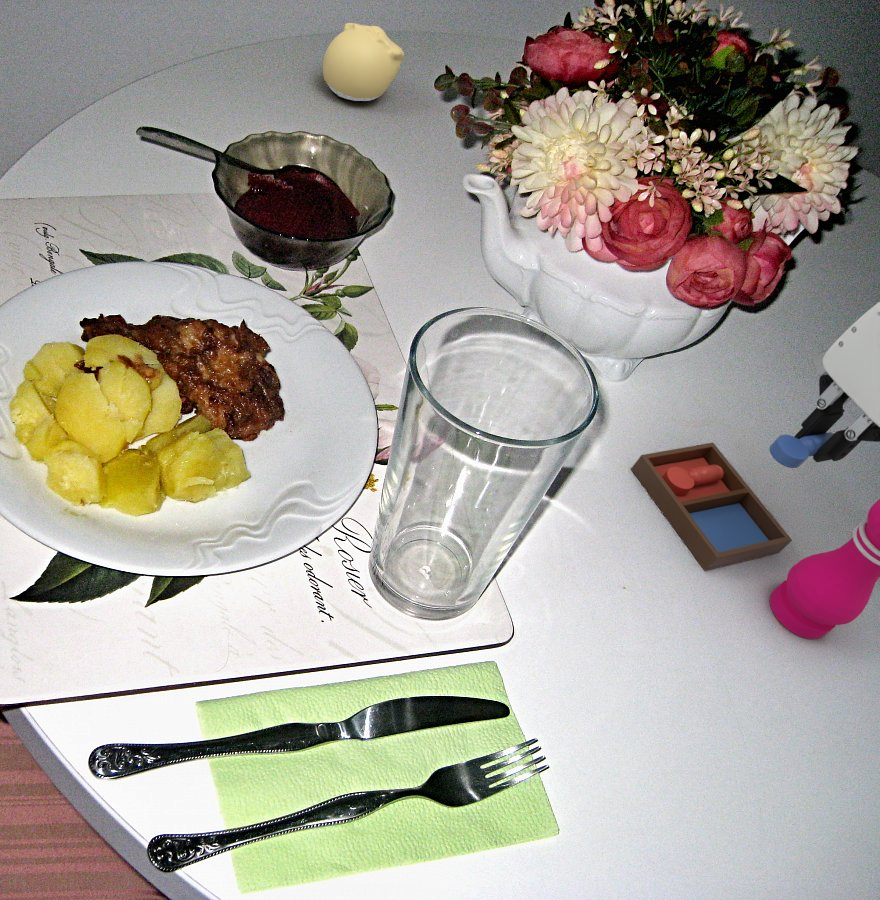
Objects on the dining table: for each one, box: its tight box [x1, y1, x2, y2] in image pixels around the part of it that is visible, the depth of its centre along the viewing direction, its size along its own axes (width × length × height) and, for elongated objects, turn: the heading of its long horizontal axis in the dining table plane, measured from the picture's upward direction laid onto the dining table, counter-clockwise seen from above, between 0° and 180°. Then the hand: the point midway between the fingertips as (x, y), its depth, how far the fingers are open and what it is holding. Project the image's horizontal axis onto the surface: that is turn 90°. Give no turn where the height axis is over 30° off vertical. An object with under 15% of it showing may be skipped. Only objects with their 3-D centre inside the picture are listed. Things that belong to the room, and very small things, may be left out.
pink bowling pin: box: [769, 498, 880, 640], centre depth 86 cm, size 7×7×20 cm
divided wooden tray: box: [630, 442, 793, 572], centre depth 100 cm, size 11×14×2 cm
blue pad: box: [689, 503, 769, 553], centre depth 98 cm, size 9×6×1 cm, turn 109°
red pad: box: [655, 458, 748, 513], centre depth 102 cm, size 10×7×2 cm
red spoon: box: [662, 465, 724, 496], centre depth 102 cm, size 8×3×2 cm, turn 109°
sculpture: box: [322, 22, 405, 99], centre depth 146 cm, size 11×12×11 cm
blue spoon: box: [768, 431, 835, 469], centre depth 88 cm, size 8×3×2 cm, turn 109°
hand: (815, 447), depth 89 cm, fingers closed on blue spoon, 2 cm apart
